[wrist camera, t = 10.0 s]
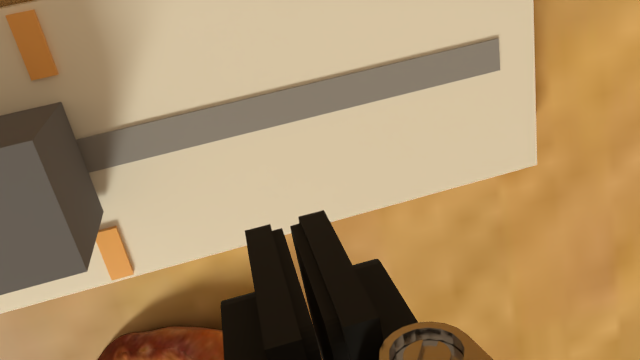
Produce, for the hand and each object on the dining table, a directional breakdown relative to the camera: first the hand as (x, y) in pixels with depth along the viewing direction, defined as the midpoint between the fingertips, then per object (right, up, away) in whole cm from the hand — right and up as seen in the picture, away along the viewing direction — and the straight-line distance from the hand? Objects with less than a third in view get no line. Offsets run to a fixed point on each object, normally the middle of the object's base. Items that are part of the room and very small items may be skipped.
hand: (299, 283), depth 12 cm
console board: (-3, +5, +9) cm, 11 cm away
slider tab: (-9, +2, +7) cm, 12 cm away
